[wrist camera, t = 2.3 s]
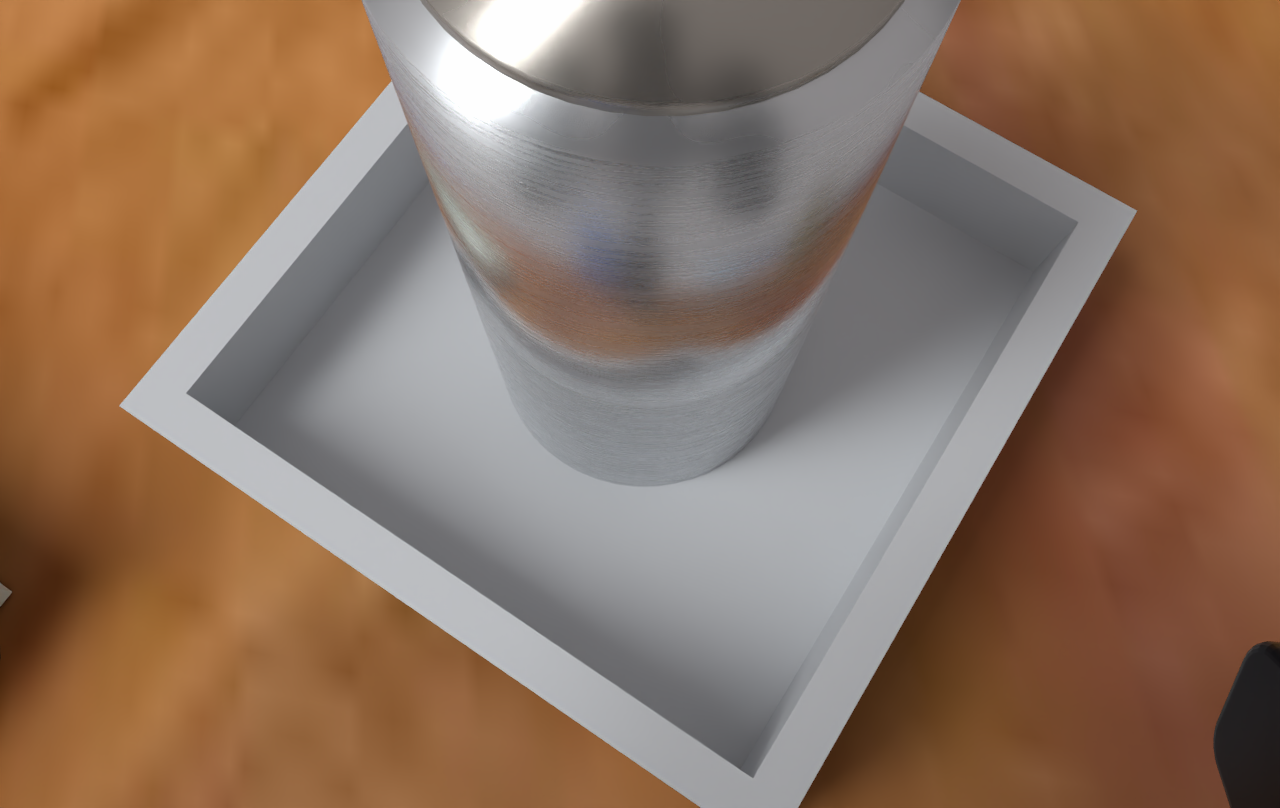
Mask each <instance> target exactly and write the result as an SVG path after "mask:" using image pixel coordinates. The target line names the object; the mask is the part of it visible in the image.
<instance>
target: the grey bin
mask: <svg viewBox="0 0 1280 808" xmlns="http://www.w3.org/2000/svg"><path fill="white" fill-rule="evenodd" d="M1136 212H1137V210H1135V209H1133V208H1131V207H1129V206H1128V205H1126V204H1124V203H1122V202H1120V201H1118V200H1117V199H1115V198H1113V197H1111V196H1109V195H1107V194H1106V193H1104V192H1102V191H1100V190H1098V189H1097V188H1095V187H1093V186H1091V185H1089V184H1087V183H1086V182H1084V181H1082V180H1080V179H1078V178H1076V177H1075V176H1073V175H1071V174H1069V173H1067V172H1065V171H1064V170H1062V169H1060V168H1058V167H1056V166H1054V165H1053V164H1051V163H1049V162H1047V161H1045V160H1043V159H1042V158H1040V157H1038V156H1036V155H1034V154H1032V153H1031V152H1029V151H1027V150H1025V149H1023V148H1021V147H1020V146H1018V145H1016V144H1014V143H1012V142H1010V141H1009V140H1007V139H1005V138H1003V137H1001V136H999V135H998V134H996V133H994V132H992V131H990V130H989V129H987V128H985V127H983V126H981V125H979V124H978V123H976V122H974V121H972V120H970V119H968V118H967V117H965V116H963V115H961V114H959V113H957V112H956V111H954V110H952V109H950V108H948V107H946V106H945V105H943V104H941V103H939V102H937V101H935V100H934V99H932V98H930V97H928V96H926V95H924V94H923V93H921V92H918V94H917V97H916V99H915V101H914V103H913V105H912V107H911V110H910V112H909V114H908V116H907V118H906V121H905V123H904V125H903V127H902V129H901V131H900V134H899V136H898V138H897V140H896V142H895V144H894V147H893V149H892V151H891V153H890V155H889V158H888V160H887V162H886V164H885V166H884V168H883V171H882V173H881V175H880V177H879V179H878V182H877V184H876V186H875V188H874V190H873V192H872V195H871V197H870V199H869V201H868V203H867V206H866V208H865V210H864V212H863V214H862V216H861V219H860V221H859V223H858V225H857V227H856V230H855V232H854V234H853V236H852V238H851V240H850V243H849V245H848V247H847V249H846V251H845V254H844V256H843V258H842V260H841V262H840V264H839V267H838V269H837V271H836V273H835V275H834V277H833V280H832V282H831V284H830V286H829V288H828V291H827V293H826V295H825V297H824V299H823V301H822V304H821V306H820V308H819V310H818V312H817V315H816V317H815V319H814V321H813V323H812V325H811V328H810V330H809V332H808V334H807V336H806V339H805V341H804V343H803V345H802V347H801V349H800V352H799V354H798V356H797V358H796V360H795V363H794V365H793V367H792V369H791V371H790V373H789V376H788V378H787V380H786V382H785V384H784V386H783V389H782V391H781V393H780V395H779V397H778V400H777V402H776V404H775V406H774V408H773V410H772V412H771V414H770V415H769V417H768V419H767V421H766V423H765V424H764V425H763V427H762V428H761V429H760V431H759V432H758V433H757V435H756V436H755V437H754V438H753V439H752V440H751V441H750V442H749V443H748V445H747V446H746V447H745V448H744V449H743V450H742V451H740V452H739V453H738V454H736V455H735V456H734V457H733V458H731V459H730V460H729V461H727V462H726V463H724V464H722V465H721V466H719V467H717V468H716V469H714V470H712V471H710V472H708V473H706V474H703V475H701V476H698V477H696V478H694V479H690V480H687V481H683V482H679V483H676V484H669V485H662V486H648V487H635V486H627V485H619V484H614V483H610V482H606V481H602V480H598V479H595V478H593V477H590V476H588V475H585V474H583V473H580V472H579V471H577V470H575V469H573V468H571V467H570V466H568V465H566V464H564V463H563V462H561V461H560V460H559V459H557V458H556V457H555V456H553V455H552V454H551V453H549V452H548V451H547V450H546V449H545V448H544V447H543V446H542V445H541V444H540V443H539V442H538V441H537V440H536V439H535V438H534V437H533V435H532V434H531V433H530V432H529V430H528V429H527V428H526V426H525V425H524V424H523V422H522V420H521V419H520V417H519V415H518V413H517V412H516V410H515V408H514V405H513V403H512V401H511V398H510V396H509V393H508V391H507V388H506V385H505V383H504V380H503V377H502V375H501V372H500V369H499V367H498V364H497V361H496V359H495V356H494V353H493V350H492V348H491V345H490V342H489V340H488V337H487V334H486V332H485V329H484V326H483V324H482V321H481V318H480V316H479V313H478V310H477V308H476V305H475V302H474V300H473V297H472V294H471V292H470V289H469V286H468V284H467V281H466V278H465V275H464V273H463V270H462V267H461V265H460V262H459V259H458V257H457V254H456V251H455V249H454V246H453V243H452V241H451V238H450V235H449V233H448V230H447V227H446V225H445V222H444V219H443V217H442V214H441V211H440V208H439V206H438V203H437V200H436V198H435V195H434V192H433V190H432V187H431V184H430V182H429V179H428V176H427V174H426V171H425V168H424V166H423V163H422V160H421V158H420V155H419V152H418V150H417V147H416V144H415V142H414V139H413V136H412V133H411V131H410V128H409V125H408V123H407V120H406V117H405V115H404V112H403V109H402V107H401V104H400V101H399V99H398V96H397V93H396V91H395V88H394V85H393V83H392V81H391V82H390V84H389V85H388V86H387V87H386V88H385V90H384V91H383V92H382V93H381V94H380V96H379V97H378V98H377V99H376V100H375V102H374V103H373V104H372V105H371V106H370V107H369V109H368V110H367V111H366V112H365V113H364V115H363V116H362V117H361V118H360V119H359V121H358V122H357V123H356V124H355V125H354V127H353V128H352V129H351V130H350V131H349V133H348V134H347V135H346V136H345V137H344V138H343V140H342V141H341V142H340V143H339V144H338V146H337V147H336V148H335V149H334V150H333V152H332V153H331V154H330V155H329V156H328V158H327V159H326V160H325V161H324V162H323V164H322V165H321V166H320V167H319V168H318V170H317V171H316V172H315V173H314V174H313V175H312V177H311V178H310V179H309V180H308V181H307V183H306V184H305V185H304V186H303V187H302V189H301V190H300V191H299V192H298V193H297V195H296V196H295V197H294V198H293V199H292V201H291V202H290V203H289V204H288V205H287V206H286V208H285V209H284V210H283V211H282V212H281V214H280V215H279V216H278V217H277V218H276V220H275V221H274V222H273V223H272V224H271V226H270V227H269V228H268V229H267V230H266V232H265V233H264V234H263V235H262V236H261V237H260V239H259V240H258V241H257V242H256V243H255V245H254V246H253V247H252V248H251V249H250V251H249V252H248V253H247V254H246V255H245V257H244V258H243V259H242V260H241V261H240V263H239V264H238V265H237V266H236V267H235V269H234V270H233V271H232V272H231V273H230V274H229V276H228V277H227V278H226V279H225V280H224V282H223V283H222V284H221V285H220V286H219V288H218V289H217V290H216V291H215V292H214V294H213V295H212V296H211V297H210V298H209V300H208V301H207V302H206V303H205V304H204V305H203V307H202V308H201V309H200V310H199V311H198V313H197V314H196V315H195V316H194V317H193V319H192V320H191V321H190V322H189V323H188V325H187V326H186V327H185V328H184V329H183V331H182V332H181V333H180V334H179V335H178V337H177V338H176V339H175V340H174V341H173V342H172V344H171V345H170V346H169V347H168V348H167V350H166V351H165V352H164V353H163V354H162V356H161V357H160V358H159V359H158V360H157V362H156V363H155V364H154V365H153V366H152V368H151V369H150V370H149V371H148V372H147V373H146V375H145V376H144V377H143V378H142V379H141V381H140V382H139V383H138V384H137V385H136V387H135V388H134V389H133V390H132V391H131V393H130V394H129V395H128V396H127V397H126V399H125V400H124V401H123V402H122V403H121V404H120V407H122V408H123V409H124V410H126V411H127V412H129V413H130V414H132V415H133V416H135V417H136V418H137V419H139V420H140V421H142V422H143V423H145V424H146V425H148V426H149V427H150V428H152V429H153V430H155V431H156V432H158V433H159V434H161V435H162V436H164V437H165V438H166V439H168V440H169V441H171V442H172V443H174V444H175V445H177V446H178V447H179V448H181V449H182V450H184V451H185V452H187V453H188V454H190V455H191V456H192V457H194V458H195V459H197V460H198V461H200V462H201V463H203V464H204V465H206V466H207V467H208V468H210V469H211V470H213V471H214V472H216V473H217V474H219V475H220V476H221V477H223V478H224V479H226V480H227V481H229V482H230V483H232V484H233V485H234V486H236V487H237V488H239V489H240V490H242V491H243V492H245V493H246V494H248V495H249V496H250V497H252V498H253V499H255V500H256V501H258V502H259V503H261V504H262V505H263V506H265V507H266V508H268V509H269V510H271V511H272V512H274V513H275V514H276V515H278V516H279V517H281V518H282V519H284V520H285V521H287V522H288V523H290V524H291V525H292V526H294V527H295V528H297V529H298V530H300V531H301V532H303V533H304V534H305V535H307V536H308V537H310V538H311V539H313V540H314V541H316V542H317V543H318V544H320V545H321V546H323V547H324V548H326V549H327V550H329V551H330V552H332V553H333V554H334V555H336V556H337V557H339V558H340V559H342V560H343V561H345V562H346V563H347V564H349V565H350V566H352V567H353V568H355V569H356V570H358V571H359V572H360V573H362V574H363V575H365V576H366V577H368V578H369V579H371V580H372V581H374V582H375V583H376V584H378V585H379V586H381V587H382V588H384V589H385V590H387V591H388V592H389V593H391V594H392V595H394V596H395V597H397V598H398V599H400V600H401V601H402V602H404V603H405V604H407V605H408V606H410V607H411V608H413V609H414V610H416V611H417V612H418V613H420V614H421V615H423V616H424V617H426V618H427V619H429V620H430V621H431V622H433V623H434V624H436V625H437V626H439V627H440V628H442V629H443V630H444V631H446V632H447V633H449V634H450V635H452V636H453V637H455V638H456V639H458V640H459V641H460V642H462V643H463V644H465V645H466V646H468V647H469V648H471V649H472V650H473V651H475V652H476V653H478V654H479V655H481V656H482V657H484V658H485V659H486V660H488V661H489V662H491V663H492V664H494V665H495V666H497V667H498V668H500V669H501V670H502V671H504V672H505V673H507V674H508V675H510V676H511V677H513V678H514V679H515V680H517V681H518V682H520V683H521V684H523V685H524V686H526V687H527V688H528V689H530V690H531V691H533V692H534V693H536V694H537V695H539V696H540V697H542V698H543V699H544V700H546V701H547V702H549V703H550V704H552V705H553V706H555V707H556V708H557V709H559V710H560V711H562V712H563V713H565V714H566V715H568V716H569V717H570V718H572V719H573V720H575V721H576V722H578V723H579V724H581V725H582V726H583V727H585V728H586V729H588V730H589V731H591V732H592V733H594V734H595V735H597V736H598V737H599V738H601V739H602V740H604V741H605V742H607V743H608V744H610V745H611V746H612V747H614V748H615V749H617V750H618V751H620V752H621V753H623V754H624V755H625V756H627V757H628V758H630V759H631V760H633V761H634V762H636V763H637V764H639V765H640V766H641V767H643V768H644V769H646V770H647V771H649V772H650V773H652V774H653V775H654V776H656V777H657V778H659V779H660V780H662V781H663V782H665V783H666V784H667V785H669V786H670V787H672V788H673V789H675V790H676V791H678V792H679V793H681V794H682V795H683V796H685V797H686V798H688V799H689V800H691V801H692V802H694V803H695V804H696V805H698V806H699V807H701V808H798V807H799V805H800V803H801V802H802V800H803V798H804V796H805V794H806V793H807V791H808V789H809V787H810V786H811V784H812V782H813V780H814V779H815V777H816V775H817V773H818V772H819V770H820V768H821V766H822V765H823V763H824V761H825V759H826V758H827V756H828V754H829V752H830V750H831V749H832V747H833V745H834V743H835V742H836V740H837V738H838V736H839V735H840V733H841V731H842V729H843V728H844V726H845V724H846V722H847V721H848V719H849V717H850V715H851V714H852V712H853V710H854V708H855V706H856V705H857V703H858V701H859V699H860V698H861V696H862V694H863V692H864V691H865V689H866V687H867V685H868V684H869V682H870V680H871V678H872V677H873V675H874V673H875V671H876V670H877V668H878V666H879V664H880V662H881V661H882V659H883V657H884V655H885V654H886V652H887V650H888V648H889V647H890V645H891V643H892V641H893V640H894V638H895V636H896V634H897V633H898V631H899V629H900V627H901V626H902V624H903V622H904V620H905V618H906V617H907V615H908V613H909V611H910V610H911V608H912V606H913V604H914V603H915V601H916V599H917V597H918V596H919V594H920V592H921V590H922V589H923V587H924V585H925V583H926V582H927V580H928V578H929V576H930V575H931V573H932V571H933V569H934V567H935V566H936V564H937V562H938V560H939V559H940V557H941V555H942V553H943V552H944V550H945V548H946V546H947V545H948V543H949V541H950V539H951V538H952V536H953V534H954V532H955V531H956V529H957V527H958V525H959V523H960V522H961V520H962V518H963V516H964V515H965V513H966V511H967V509H968V508H969V506H970V504H971V502H972V501H973V499H974V497H975V495H976V494H977V492H978V490H979V488H980V487H981V485H982V483H983V481H984V479H985V478H986V476H987V474H988V472H989V471H990V469H991V467H992V465H993V464H994V462H995V460H996V458H997V457H998V455H999V453H1000V451H1001V450H1002V448H1003V446H1004V444H1005V443H1006V441H1007V439H1008V437H1009V435H1010V434H1011V432H1012V430H1013V428H1014V427H1015V425H1016V423H1017V421H1018V420H1019V418H1020V416H1021V414H1022V413H1023V411H1024V409H1025V407H1026V406H1027V404H1028V402H1029V400H1030V399H1031V397H1032V395H1033V393H1034V391H1035V390H1036V388H1037V386H1038V384H1039V383H1040V381H1041V379H1042V377H1043V376H1044V374H1045V372H1046V370H1047V369H1048V367H1049V365H1050V363H1051V362H1052V360H1053V358H1054V356H1055V355H1056V353H1057V351H1058V349H1059V348H1060V346H1061V344H1062V342H1063V340H1064V339H1065V337H1066V335H1067V333H1068V332H1069V330H1070V328H1071V326H1072V325H1073V323H1074V321H1075V319H1076V318H1077V316H1078V314H1079V312H1080V311H1081V309H1082V307H1083V305H1084V304H1085V302H1086V300H1087V298H1088V296H1089V295H1090V293H1091V291H1092V289H1093V288H1094V286H1095V284H1096V282H1097V281H1098V279H1099V277H1100V275H1101V274H1102V272H1103V270H1104V268H1105V267H1106V265H1107V263H1108V261H1109V260H1110V258H1111V256H1112V254H1113V252H1114V251H1115V249H1116V247H1117V245H1118V244H1119V242H1120V240H1121V238H1122V237H1123V235H1124V233H1125V231H1126V230H1127V228H1128V226H1129V224H1130V223H1131V221H1132V219H1133V217H1134V216H1135V214H1136Z"/></svg>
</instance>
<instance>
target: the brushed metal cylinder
mask: <svg viewBox="0 0 1280 808" xmlns="http://www.w3.org/2000/svg"><path fill="white" fill-rule="evenodd" d="M960 1H961V0H362V2H363V5H364V8H365V10H366V13H367V16H368V18H369V21H370V24H371V26H372V29H373V32H374V34H375V37H376V40H377V42H378V45H379V48H380V50H381V53H382V56H383V58H384V61H385V64H386V67H387V69H388V72H389V75H390V77H391V80H392V83H393V85H394V88H395V91H396V93H397V96H398V99H399V101H400V104H401V107H402V109H403V112H404V115H405V117H406V120H407V123H408V125H409V128H410V131H411V133H412V136H413V139H414V142H415V144H416V147H417V150H418V152H419V155H420V158H421V160H422V163H423V166H424V168H425V171H426V174H427V176H428V179H429V182H430V184H431V187H432V190H433V192H434V195H435V198H436V200H437V203H438V206H439V208H440V211H441V214H442V217H443V219H444V222H445V225H446V227H447V230H448V233H449V235H450V238H451V241H452V243H453V246H454V249H455V251H456V254H457V257H458V259H459V262H460V265H461V267H462V270H463V273H464V275H465V278H466V281H467V284H468V286H469V289H470V292H471V294H472V297H473V300H474V302H475V305H476V308H477V310H478V313H479V316H480V318H481V321H482V324H483V326H484V329H485V332H486V334H487V337H488V340H489V342H490V345H491V348H492V350H493V353H494V356H495V359H496V361H497V364H498V367H499V369H500V372H501V375H502V377H503V380H504V383H505V385H506V388H507V391H508V393H509V396H510V398H511V401H512V403H513V405H514V408H515V410H516V412H517V413H518V415H519V417H520V419H521V420H522V422H523V424H524V425H525V426H526V428H527V429H528V430H529V432H530V433H531V434H532V435H533V437H534V438H535V439H536V440H537V441H538V442H539V443H540V444H541V445H542V446H543V447H544V448H545V449H546V450H547V451H548V452H549V453H551V454H552V455H553V456H555V457H556V458H557V459H559V460H560V461H561V462H563V463H564V464H566V465H568V466H570V467H571V468H573V469H575V470H577V471H579V472H580V473H583V474H585V475H588V476H590V477H593V478H595V479H598V480H602V481H606V482H610V483H614V484H619V485H627V486H635V487H648V486H662V485H669V484H676V483H679V482H683V481H687V480H690V479H694V478H696V477H698V476H701V475H703V474H706V473H708V472H710V471H712V470H714V469H716V468H717V467H719V466H721V465H722V464H724V463H726V462H727V461H729V460H730V459H731V458H733V457H734V456H735V455H736V454H738V453H739V452H740V451H742V450H743V449H744V448H745V447H746V446H747V445H748V443H749V442H750V441H751V440H752V439H753V438H754V437H755V436H756V435H757V433H758V432H759V431H760V429H761V428H762V427H763V425H764V424H765V423H766V421H767V419H768V417H769V415H770V414H771V412H772V410H773V408H774V406H775V404H776V402H777V400H778V397H779V395H780V393H781V391H782V389H783V386H784V384H785V382H786V380H787V378H788V376H789V373H790V371H791V369H792V367H793V365H794V363H795V360H796V358H797V356H798V354H799V352H800V349H801V347H802V345H803V343H804V341H805V339H806V336H807V334H808V332H809V330H810V328H811V325H812V323H813V321H814V319H815V317H816V315H817V312H818V310H819V308H820V306H821V304H822V301H823V299H824V297H825V295H826V293H827V291H828V288H829V286H830V284H831V282H832V280H833V277H834V275H835V273H836V271H837V269H838V267H839V264H840V262H841V260H842V258H843V256H844V254H845V251H846V249H847V247H848V245H849V243H850V240H851V238H852V236H853V234H854V232H855V230H856V227H857V225H858V223H859V221H860V219H861V216H862V214H863V212H864V210H865V208H866V206H867V203H868V201H869V199H870V197H871V195H872V192H873V190H874V188H875V186H876V184H877V182H878V179H879V177H880V175H881V173H882V171H883V168H884V166H885V164H886V162H887V160H888V158H889V155H890V153H891V151H892V149H893V147H894V144H895V142H896V140H897V138H898V136H899V134H900V131H901V129H902V127H903V125H904V123H905V121H906V118H907V116H908V114H909V112H910V110H911V107H912V105H913V103H914V101H915V99H916V97H917V94H918V92H919V90H920V88H921V86H922V83H923V81H924V79H925V77H926V75H927V73H928V70H929V68H930V66H931V64H932V62H933V59H934V57H935V55H936V53H937V51H938V49H939V46H940V44H941V42H942V40H943V38H944V35H945V33H946V31H947V29H948V27H949V25H950V22H951V20H952V18H953V16H954V14H955V12H956V9H957V7H958V5H959V3H960Z"/></svg>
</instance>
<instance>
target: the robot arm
mask: <svg viewBox="0 0 1280 808" xmlns="http://www.w3.org/2000/svg"><path fill="white" fill-rule="evenodd" d="M1214 754H1215V760H1216V764H1217V767H1218V770H1219V773H1220V777H1221V780H1222V783H1223V786H1224V789H1225V792H1226V795H1227V798H1228V801H1229V804H1230V807H1231V808H1280V642H1271V641H1267V642H1262V643H1259V644H1256V645H1255V646H1253V647H1252V648H1251V649H1250V650H1249V651H1248V652H1247V654H1246V656H1245V658H1244V660H1243V662H1242V664H1241V667H1240V669H1239V671H1238V674H1237V676H1236V679H1235V681H1234V683H1233V686H1232V688H1231V690H1230V693H1229V695H1228V697H1227V700H1226V702H1225V704H1224V707H1223V709H1222V711H1221V714H1220V716H1219V718H1218V721H1217V723H1216V727H1215V732H1214Z"/></svg>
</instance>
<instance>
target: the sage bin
mask: <svg viewBox="0 0 1280 808" xmlns="http://www.w3.org/2000/svg"><path fill="white" fill-rule="evenodd" d="M11 593H12V591H10V590H9V589H8V588H6V587H5V586H4V585H2V584H1V583H0V606H1V605H2V604H3V603H4V602H5V600H6V599H7V598H8V597H9V596H10V594H11Z"/></svg>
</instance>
